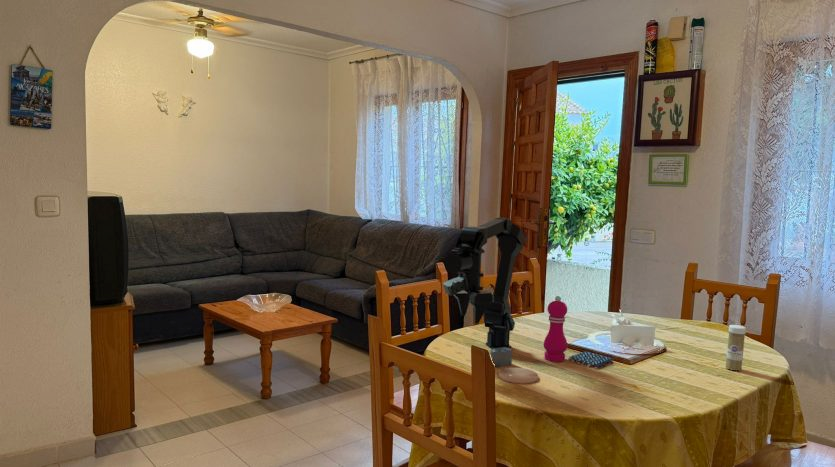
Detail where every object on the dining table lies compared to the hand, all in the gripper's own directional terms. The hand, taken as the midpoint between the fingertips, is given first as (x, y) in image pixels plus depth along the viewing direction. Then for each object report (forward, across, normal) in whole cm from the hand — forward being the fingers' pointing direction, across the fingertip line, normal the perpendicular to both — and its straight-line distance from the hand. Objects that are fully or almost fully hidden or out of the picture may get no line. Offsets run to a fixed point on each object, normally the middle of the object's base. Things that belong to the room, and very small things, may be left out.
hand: (469, 319), depth 181 cm
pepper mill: (+13, +6, +27) cm, 30 cm away
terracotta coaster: (+13, +17, +7) cm, 23 cm away
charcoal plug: (+13, +6, +8) cm, 16 cm away
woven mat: (+14, +12, +36) cm, 40 cm away
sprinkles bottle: (+14, +30, +75) cm, 82 cm away
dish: (+14, -1, +60) cm, 62 cm away
